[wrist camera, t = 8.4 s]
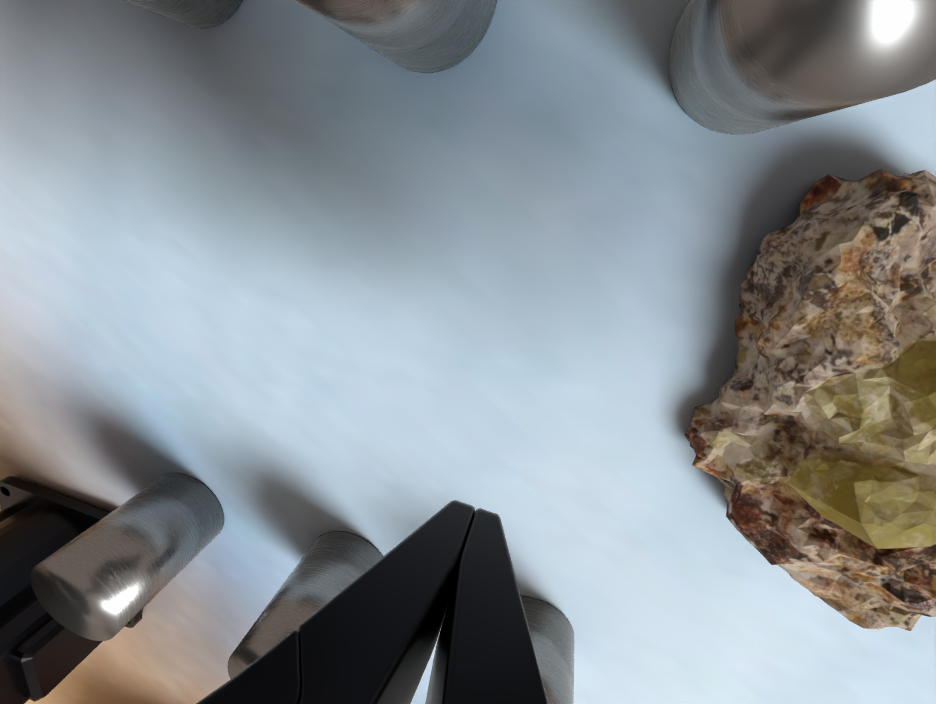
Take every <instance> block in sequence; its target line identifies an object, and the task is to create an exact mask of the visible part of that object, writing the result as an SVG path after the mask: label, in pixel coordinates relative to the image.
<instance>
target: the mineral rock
mask: <svg viewBox="0 0 936 704" xmlns="http://www.w3.org/2000/svg"><path fill="white" fill-rule="evenodd" d="M746 274H747V278H746V279H745V280H744V281H743V283H742V284H741V292H740V304H739V306H740V310H741V312H740V313H739V315H738V317H737V319H736V320H735V331H736V338H737V339H738V345H739V350H738V354H737V357H736V361H735V371H734V374H733V377H732V378H731V379H728V380H727V381H726V382H725V384H724V385H723V387H722V388H719V389H718V392H719V397H718V398H717V399H716V400H715V401H714V402H713V403H712V404H710V403H709V404H706V405H703V406H699V407H695V410H694V415H693V419H692V421H691V424H690V426H689V428H688V429H687V431H686V432H685V436H686V437H687V439H688V440H689V442H690V446H691V447H692V448H693V449H694V451H695V453H696V457H695V460H694V462H693V464H692V465H694V466H695V467H697V468H699V469H700V470H702V471H704V472H706V473H708V474H711V475H713V476H716V477H717V478H718V480H719V481H720V482H721V483H722V484H724V485H725V488H724V492H723V493H724V495H725V497H726V499H727V501H728V505H727V513H726V517H727V518H728V519H729V520H730V522H731V523H732V524H733V525H734V527H735V528H736V529H737V530H738V531H739V532H740V533H741V534H742V535H743V536H744V537H745V538H746V539H747V541H748V542H749V543H750V544H752V545H753V546H754V547H755V548H756V549H757V550H758V551H759V552H760V553H761V554H762V555H763V556H764V557H765V558H766V559H767V561H768V562H769V563H770V564H771V565H778V566H780V567H781V568H783V569H784V570H785V571H787V572H788V573H789V575H790V576H791V577H792V578H793V579H794V580H796V581H797V582H798V583H800V584H801V585H802V586H804V587H805V588H807V589H808V590H809V591H810V592H811V593H813V594H814V595H815V596H818V597H819V598H820V599H822V600H823V601H824V602H825V603H827V604H828V605H829V606H831V607H832V608H834V609H835V610H837V611H838V612H839V613H841V614H842V615H843V616H844V617H846V618H847V619H848V620H849V621H851V622H853V623H855V624H857V625H859V626H861V627H862V628H867V629H882V628H884V627H899V628H902V629H905V630H909V631H911V630H912V628H913V627H914V625H915V624H916V622H917V621H918V619H919V618H920V616H921V615H924V616H929V617H936V177H935V176H933V175H932V174H930V173H929V172H927V171H926V170H923V171H919V172H916V173H912V174H907V173H905V174H904V175H903V177H896V176H894V175H892V174H890V173H887V172H885V171H883V170H881V169H879V170H877V171H876V172H874V173H872V174H870V175H868V176H866V177H864V178H862V179H860V180H858V181H847V180H844V179H841V178H839V177H836V176H831V175H827V176H825V177H824V178H822V179H820V180H819V181H817V182H815V183H814V184H813V186H812V187H811V189H810V190H809V191H808V193H807V194H806V195H805V197H804V198H803V200H802V201H801V202H800V206H799V211H798V215H797V219H796V220H795V222H794V223H793V224H791V225H790V226H787V227H784V228H782V229H781V230H778V231H774V232H771V233H769V234H768V235H767V236H766V237H765V238H764V239H763V241H762V244H761V246H760V247H759V248H758V252H757V255H756V257H755V259H754V261H753V263H752V265H751V266H750V268H749V269H748V271H746Z"/></svg>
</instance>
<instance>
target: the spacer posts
mask: <svg viewBox="0 0 936 704" xmlns="http://www.w3.org/2000/svg"><path fill="white" fill-rule="evenodd" d="M124 1H127V2H129V3H132V4H135V5H137V6H140V7H142V8H145V9H147V10H150V11H152V12H155V13H157V14H160V15H163V16H165V17H168V18H170V19H173V20H175V21H178V22H180V23H183V24H185V25H188V26H192V27H196V28H210V27H214V26H217V25H219V24H221V23H223V22H224V21H226V20H227V19H228V18H229V17H230V16H231V15H232V14H233V13H234V12H235V11H236V10H237V8H238V7H239V5H240V3H241V2H242V0H124ZM297 1H298V2H300V3H301V4H303V5H305V6H306V7H308V8H309V9H311V10H313V11H314V12H316V13H317V14H319V15H320V16H322V17H324V18H325V19H327V20H328V21H330V22H332V23H333V24H335V25H336V26H338V27H339V28H341V29H343V30H344V31H346V32H347V33H349V34H351V35H352V36H354V37H355V38H357V39H358V40H360V41H362V42H363V43H365V44H366V45H368V46H370V47H371V48H373V49H374V50H376V51H377V52H379V53H381V54H382V55H384V56H385V57H387V58H389V59H390V60H392V61H393V62H395V63H396V64H398V65H400V66H402V67H404V68H406V69H408V70H412V71H415V72H422V73H433V72H438V71H443V70H445V69H448V68H451V67H452V66H454V65H456V64H458V63H459V62H461V61H462V60H463V59H465V58H466V57H467V56H468V55H469V54H470V53H471V52H472V51H473V50H474V49H475V48H476V47H477V45H478V44H479V43H480V41H481V40H482V38H483V37H484V35H485V33H486V31H487V29H488V27H489V25H490V23H491V20H492V17H493V14H494V11H495V7H496V3H497V0H297ZM669 71H670V80H671V84H672V88H673V91H674V93H675V96H676V98H677V100H678V102H679V104H680V105H681V107H682V108H683V110H684V111H685V112H686V113H687V115H689V116H690V117H691V118H692V119H693V120H694V121H695V122H697V123H699V124H700V125H702V126H703V127H705V128H708V129H710V130H712V131H716V132H720V133H725V134H748V133H754V132H758V131H762V130H766V129H769V128H773V127H777V126H780V125H784V124H788V123H792V122H795V121H799V120H803V119H806V118H810V117H814V116H817V115H821V114H825V113H828V112H832V111H836V110H840V109H843V108H847V107H851V106H854V105H858V104H862V103H865V102H869V101H873V100H876V99H880V98H884V97H888V96H891V95H895V94H899V93H902V92H906V91H908V90H911V89H914V88H916V87H919V86H921V85H924V84H927V83H929V82H931V81H933V80H935V79H936V0H690V1H689V3H688V4H687V6H686V8H685V9H684V11H683V13H682V15H681V17H680V19H679V21H678V24H677V27H676V29H675V32H674V35H673V39H672V43H671V49H670V56H669ZM223 525H224V514H223V510H222V508H221V505H220V503H219V502H218V500H217V498H216V497H215V496H214V494H213V493H212V492H211V491H210V490H209V489H208V488H207V487H206V486H205V485H203V484H202V483H201V482H199V481H198V480H196V479H194V478H192V477H190V476H188V475H185V474H180V473H169V474H165V475H163V476H162V477H160V478H159V479H158V480H156V481H155V482H153V483H152V484H150V485H149V486H148V487H146V488H145V489H143V490H142V491H141V492H139V493H138V494H136V495H135V496H134V497H132V498H131V499H129V500H128V501H127V502H125V503H124V504H122V505H121V506H119V507H118V508H117V509H115V510H114V511H112V512H111V513H110V514H108V515H107V516H105V517H104V518H103V519H101V520H100V521H98V522H97V523H95V524H94V525H93V526H91V527H90V528H88V529H87V530H86V531H84V532H83V533H81V534H80V535H79V536H77V537H76V538H74V539H73V540H71V541H70V542H69V543H67V544H66V545H64V546H63V547H62V548H60V549H59V550H57V551H56V552H55V553H53V554H52V555H50V556H49V557H48V558H46V559H45V560H43V561H42V562H40V563H39V564H38V565H36V566H35V567H34V568H33V570H32V572H31V576H30V579H31V586H32V589H33V591H34V593H35V595H36V597H37V599H38V601H39V602H40V603H41V605H42V606H43V607H44V609H45V610H46V611H47V612H48V613H49V614H50V615H51V616H52V617H53V618H54V619H55V620H56V621H57V622H58V623H60V624H61V625H62V626H64V627H65V628H67V629H68V630H70V631H71V632H73V633H75V634H77V635H79V636H81V637H84V638H87V639H90V640H95V641H106V640H109V639H111V638H113V637H114V636H115V635H116V634H117V633H118V632H119V631H120V630H121V629H122V628H123V627H124V626H125V625H126V624H127V623H128V622H129V621H130V620H131V619H132V618H133V617H134V616H135V615H136V614H137V613H138V612H139V611H140V610H141V609H142V608H143V607H144V606H146V605H147V604H148V603H149V602H150V601H151V600H152V599H153V598H154V597H155V596H156V595H157V594H158V593H159V592H160V591H161V590H162V589H163V588H164V587H165V586H166V585H167V584H168V583H169V582H170V581H171V580H172V579H173V578H174V577H175V576H176V575H177V574H178V573H179V572H180V571H181V570H182V569H183V568H184V567H185V566H186V565H187V564H188V563H189V562H190V561H191V560H193V559H194V558H195V557H196V556H197V555H198V554H199V553H200V552H201V551H202V550H203V549H204V548H205V547H206V546H207V545H208V544H209V543H210V542H211V541H212V540H213V539H214V538H215V537H216V536H217V535H218V534H219V533H220V532H221V530H222V528H223ZM381 558H383V556H382V555H381V554H380V552H379V551H378V550H377V549H376V548H375V547H374V546H373V545H372V544H370V543H369V542H368V541H366V540H364V539H363V538H361V537H359V536H356V535H354V534H351V533H347V532H340V531H334V532H328V533H325V534H323V535H321V536H320V537H318V538H317V539H316V540H315V542H314V543H313V544H312V546H311V547H310V548H309V550H308V551H307V553H306V554H305V555H304V557H303V558H302V559H301V561H300V562H299V563H298V565H297V566H296V568H295V569H294V570H293V572H292V573H291V574H290V576H289V577H288V578H287V580H286V581H285V583H284V584H283V585H282V587H281V588H280V589H279V591H278V592H277V593H276V595H275V596H274V597H273V599H272V600H271V602H270V603H269V604H268V606H267V607H266V608H265V610H264V611H263V612H262V614H261V615H260V617H259V618H258V619H257V621H256V622H255V623H254V625H253V626H252V627H251V629H250V630H249V632H248V633H247V634H246V636H245V637H244V638H243V640H242V641H241V642H240V644H239V645H238V646H237V648H236V649H235V651H234V652H233V653H232V655H231V656H230V658H229V661H228V673H229V676H230V679H232V678H233V677H235V676H236V675H237V674H239V673H240V672H241V671H242V670H244V669H245V668H246V667H248V666H249V665H250V664H252V663H253V662H254V661H255V660H257V659H258V658H259V657H261V656H262V655H263V654H264V653H266V652H267V651H268V650H270V649H271V648H272V647H273V646H275V645H276V644H277V643H278V642H279V641H281V640H282V639H283V638H284V637H285V636H287V635H288V634H289V633H290V632H292V631H293V630H295V629H296V630H298V629H299V626H300V625H301V624H302V623H303V622H304V621H305V620H307V619H308V618H309V617H310V616H312V615H313V614H314V613H315V612H316V611H318V610H319V609H320V608H321V607H323V606H324V605H325V604H326V603H327V602H329V601H330V600H331V599H332V598H334V597H335V596H336V595H337V594H338V593H340V592H341V591H342V590H343V589H345V588H346V587H347V586H348V585H349V584H351V583H352V582H353V581H354V580H356V579H357V578H358V577H359V576H360V575H362V574H363V573H364V572H365V571H367V570H368V569H369V568H370V567H372V566H373V565H374V564H375V563H376V562H378V561H379V560H380V559H381ZM521 600H522V604H523V608H524V612H525V615H526V619H527V623H528V627H529V631H530V635H531V639H532V643H533V646H534V650H535V654H536V658H537V662H538V666H539V670H540V673H541V677H542V681H543V685H544V689H545V693H546V697H547V700H548V704H573V695H574V632H573V629H572V626H571V624H570V623H569V621H568V620H567V618H566V617H565V616H564V615H563V614H562V613H561V612H560V611H558V610H557V609H556V608H554V607H553V606H551V605H549V604H547V603H545V602H543V601H540V600H537V599H533V598H528V597H521Z"/></svg>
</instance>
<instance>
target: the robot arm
mask: <svg viewBox="0 0 936 704" xmlns="http://www.w3.org/2000/svg"><path fill="white" fill-rule="evenodd" d="M0 505H1V509H2V511H1V512H0V704H24V703H25V702H26V701H28V700H29V699H30V700H32V701H37V700H39V699H41V698H43V697H45V696H46V695H47V694H48V693H49V692H50V691H51V690H52V689H54V688H55V687H56V686H57V685H58V684H59V683H60V682H61V681H62V680H63V679H64V678H65V677H66V676H67V675H68V674H69V673H70V672H71V671H72V670H73V669H74V668H75V667H76V666H77V665H78V664H79V663H80V662H81V661H83V660H84V659H85V658H86V657H87V656H88V655H89V654H90V653H91V652H92V651H93V650H94V649H95V648H96V647H97V646H98V645H99V644H100V643H101V642H102V641H95V640H90V639H87V638H84V637H81V636H79V635H77V634H75V633H73V632H71V631H70V630H68V629H67V628H65V627H64V626H62V625H61V624H60V623H58V622H57V621H56V620H55V619H54V618H53V617H52V616H51V615H50V614H49V613H48V612H47V611H46V610H45V609H44V607H43V606H42V605H41V603H40V602H39V601H38V599H37V597H36V595H35V593H34V591H33V589H32V586H31V579H30V576H31V572H32V570H33V568H34V567H35V566H36V565H38V564H39V563H40V562H42V561H43V560H45V559H46V558H48V557H49V556H50V555H52V554H53V553H55V552H56V551H57V550H59V549H60V548H62V547H63V546H64V545H66V544H67V543H69V542H70V541H71V540H73V539H74V538H76V537H77V536H79V535H80V534H81V533H83V532H84V531H86V530H87V529H88V528H90V527H91V526H93V525H94V524H95V523H97V522H98V521H100V520H101V519H103V518H104V517H105V516H107V515H108V514H110V513H108V512H105V511H103V510H100V509H97V508H95V507H92V506H89V505H87V504H84V503H82V502H79V501H76V500H74V499H71V498H68V497H66V496H63V495H60V494H58V493H55V492H52V491H50V490H47V489H44V488H42V487H39V486H37V485H34V484H31V483H29V482H26V481H23V480H21V479H18V478H15V477H12V476H9V477H6V478H4V479H2V480H0ZM141 619H142V610H140V611H139V612H138V613H137V614H136V615H135V616H134V617H133V618H132V619H131V620H130V621H129V622H128V623H127V624H126V625H125V626H126V627H129V628H132V627H134V626H135V625H136V624H137V623H138V622H139V621H140V620H141ZM442 622H443V623H442ZM441 626H442V627H441ZM440 629H441V630H440ZM439 632H440V634H439ZM438 635H439V638H438ZM437 638H438V642H437V646H436V650H435V655H434V660H433V665H432V671H431V676H430V682H429V687H428V693H427V698H426V703H425V704H548V700H547V697H546V693H545V689H544V685H543V681H542V677H541V673H540V670H539V666H538V662H537V658H536V654H535V650H534V646H533V643H532V639H531V635H530V631H529V627H528V623H527V619H526V615H525V612H524V608H523V604H522V600H521V596H520V592H519V588H518V585H517V581H516V577H515V573H514V569H513V565H512V561H511V558H510V554H509V550H508V546H507V542H506V538H505V534H504V531H503V527H502V523H501V519H500V517H499V515H497V514H495V513H492V512H489V511H486V510H483V509H477V510H476V511H475V508H474V507H473V506H471V505H468V504H465V503H462V502H459V501H456V500H454V501H451V502H450V503H449V504H447V505H446V506H445V507H444V508H442V509H441V510H440V511H439V512H438V513H436V514H435V515H434V516H433V517H431V518H430V519H429V520H428V521H427V522H425V523H424V524H423V525H422V526H420V527H419V528H418V529H417V530H416V531H414V532H413V533H412V534H411V535H409V536H408V537H407V538H406V539H405V540H403V541H402V542H401V543H400V544H398V545H397V546H396V547H395V548H394V549H392V550H391V551H390V552H389V553H387V554H386V555H385V556H384V557H383V558H381V559H380V560H379V561H378V562H376V563H375V564H374V565H373V566H372V567H370V568H369V569H368V570H367V571H365V572H364V573H363V574H362V575H360V576H359V577H358V578H357V579H356V580H354V581H353V582H352V583H351V584H349V585H348V586H347V587H346V588H345V589H343V590H342V591H341V592H340V593H338V594H337V595H336V596H335V597H334V598H332V599H331V600H330V601H329V602H327V603H326V604H325V605H324V606H323V607H321V608H320V609H319V610H318V611H316V612H315V613H314V614H313V615H312V616H310V617H309V618H308V619H307V620H305V621H304V622H303V623H302V624H301V625H300V626H299V629H298V630H296V629H295V630H293V631H292V632H290V633H289V634H288V635H287V636H285V637H284V638H283V639H282V640H281V641H279V642H278V643H277V644H276V645H275V646H273V647H272V648H271V649H270V650H268V651H267V652H266V653H264V654H263V655H262V656H261V657H259V658H258V659H257V660H255V661H254V662H253V663H252V664H250V665H249V666H248V667H246V668H245V669H244V670H242V671H241V672H240V673H239V674H237V675H236V676H235V677H233V678H232V679H231V680H229V681H228V682H227V683H225V684H224V685H222V686H221V687H219V688H218V689H217V690H215V691H214V692H212V693H211V694H209V695H208V696H207V697H205V698H204V699H202V700H201V701H199V702H198V703H197V704H410V703H411V701H412V698H413V696H414V694H415V691H416V689H417V687H418V684H419V682H420V680H421V677H422V675H423V673H424V670H425V668H426V666H427V663H428V661H429V659H430V656H431V654H432V651H433V649H434V646H435V644H436V641H437Z"/></svg>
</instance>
